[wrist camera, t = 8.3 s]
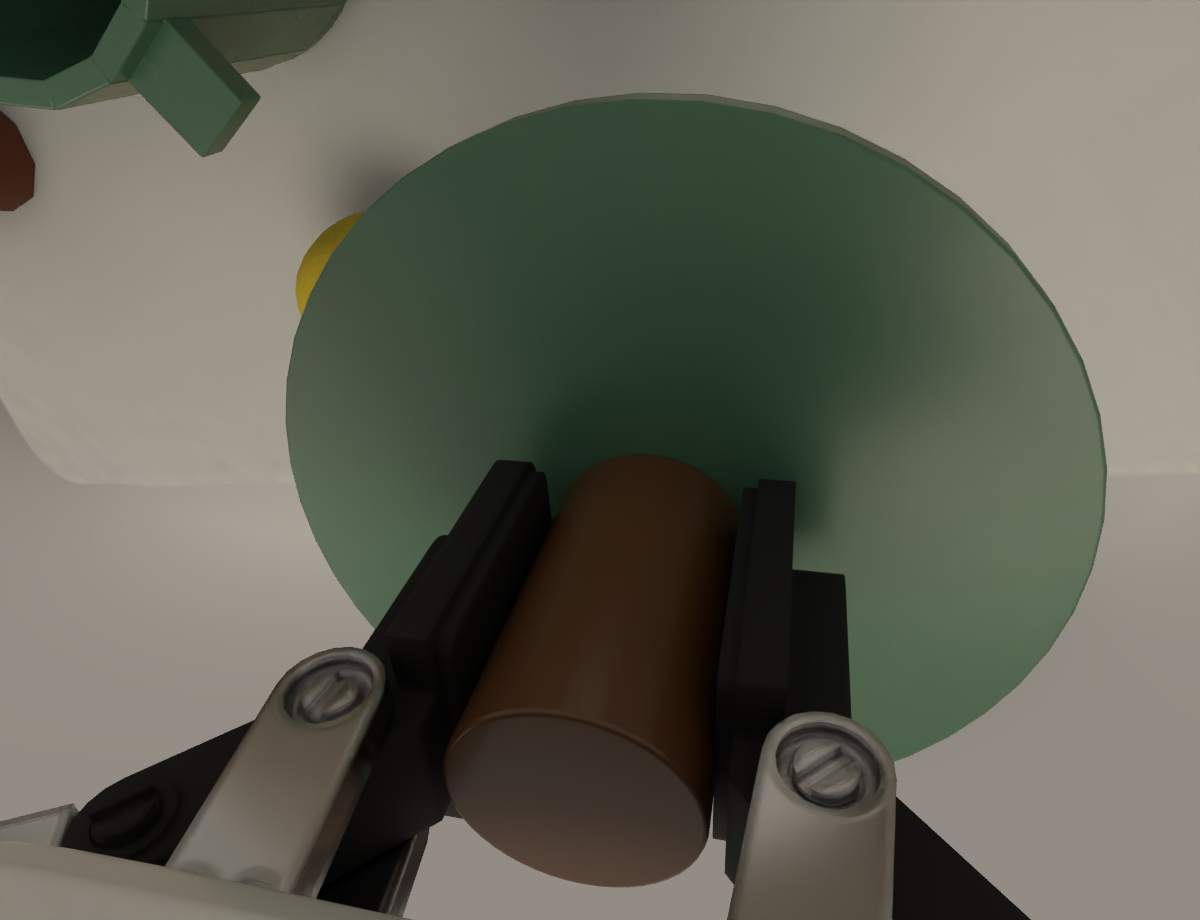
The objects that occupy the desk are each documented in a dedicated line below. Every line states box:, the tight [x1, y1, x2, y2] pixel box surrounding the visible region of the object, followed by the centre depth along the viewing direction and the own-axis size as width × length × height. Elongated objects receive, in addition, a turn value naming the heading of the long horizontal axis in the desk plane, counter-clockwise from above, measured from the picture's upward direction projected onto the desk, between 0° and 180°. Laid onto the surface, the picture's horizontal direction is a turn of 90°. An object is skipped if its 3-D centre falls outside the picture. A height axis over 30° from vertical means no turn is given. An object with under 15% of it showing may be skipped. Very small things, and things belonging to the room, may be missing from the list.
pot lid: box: [286, 93, 1107, 887], centre depth 11 cm, size 13×13×6 cm
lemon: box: [296, 212, 364, 316], centre depth 31 cm, size 6×6×8 cm
